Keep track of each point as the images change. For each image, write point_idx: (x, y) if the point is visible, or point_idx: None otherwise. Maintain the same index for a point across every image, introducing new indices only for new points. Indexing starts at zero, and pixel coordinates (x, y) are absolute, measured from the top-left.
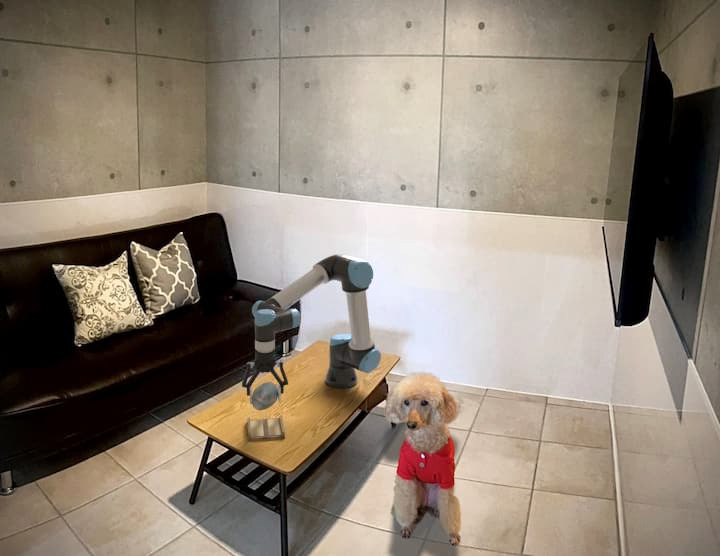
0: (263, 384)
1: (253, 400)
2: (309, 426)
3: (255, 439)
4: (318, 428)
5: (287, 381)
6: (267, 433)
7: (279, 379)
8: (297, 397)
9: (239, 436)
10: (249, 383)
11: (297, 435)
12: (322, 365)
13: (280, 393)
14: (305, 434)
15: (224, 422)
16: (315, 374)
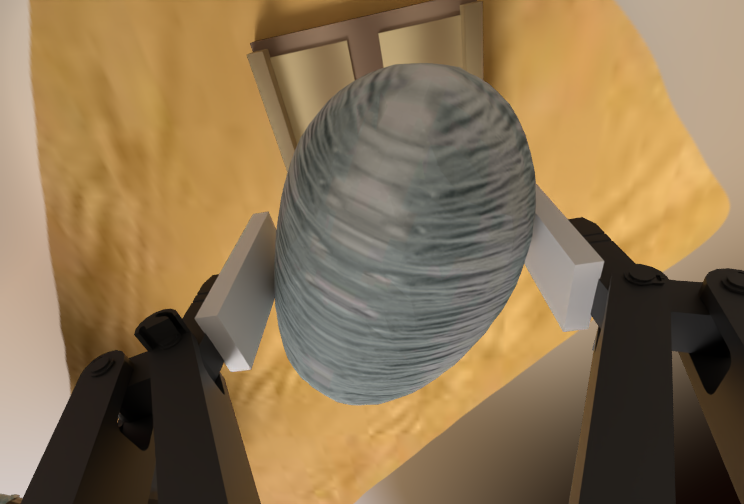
0: (418, 360)
1: (518, 121)
2: (167, 181)
3: (429, 1)
4: (113, 164)
5: (73, 396)
6: (362, 73)
7: (159, 422)
8: (293, 376)
9: (525, 55)
10: (662, 326)
11: (193, 83)
12: (266, 498)
13: (227, 265)
14: (153, 97)
15: (588, 201)
16: (272, 470)
